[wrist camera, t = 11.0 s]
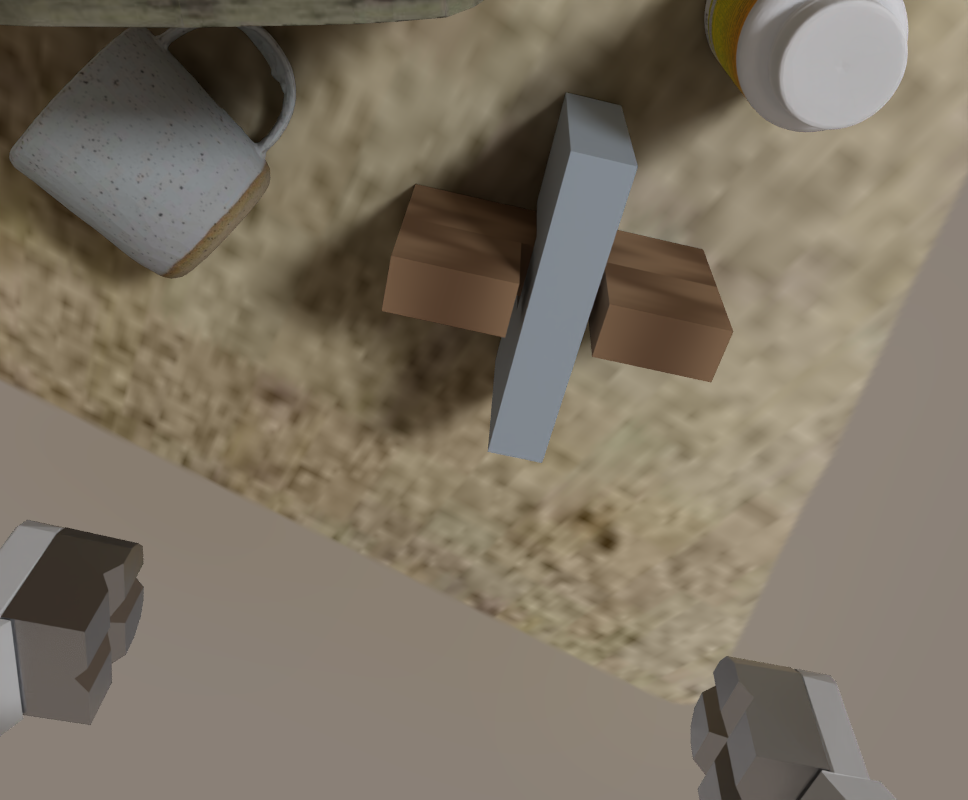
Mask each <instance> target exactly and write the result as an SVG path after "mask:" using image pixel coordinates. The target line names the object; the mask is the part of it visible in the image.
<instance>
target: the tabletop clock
mask: <svg viewBox="0 0 968 800" xmlns="http://www.w3.org/2000/svg"><path fill="white" fill-rule="evenodd" d="M482 1H483V0H0V25H15V26H53V27H163V28H193V27H241V26H289V25H332V24H362V23H381V22H397V21H409V20H420V19H432V18H443V17H448V16H451V15H454V14H456V13H459V12H462V11H464V10H467V9H470V8H472V7H474V6H476V5H477V4H479V3H480V2H482Z"/></svg>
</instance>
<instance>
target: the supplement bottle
mask: <svg viewBox="0 0 968 800" xmlns="http://www.w3.org/2000/svg"><path fill="white" fill-rule="evenodd" d="M705 32H706V37H707V40H708V43H709V46H710V48H711V50H712V52H713V54H714V56H715V57H716V59H717V60H718V61H719V63H720V64H721V66H722V67H723V68H724V70H725V71H726V72H727V74H728V75H729V76H730V78H731V79H732V81H733V82H734V83H735V85H736V86H737V87H738V89H739V90H740V91H741V93H742V94H743V95H744V97H745V98H746V99H747V101H748V102H749V103H750V105H751V106H752V107H753V108H754V109H755V110H756V111H757V112H758V113H759V114H760V115H761V116H762V117H763V118H765V119H766V120H767V121H769V122H771V123H772V124H774V125H776V126H779V127H781V128H784V129H787V130H792V131H798V132H816V131H823V130H828V129H829V130H832V129H841V128H846V127H850V126H853V125H855V124H857V123H860V122H862V121H864V120H866V119H867V118H869V117H871V116H872V115H873V114H875V113H876V112H877V111H879V110H880V109H881V108H882V107H883V106H884V105H885V104H886V103H887V102H888V101H889V99H890V98H891V97H892V95H893V94H894V92H895V91H896V89H897V88H898V86H899V84H900V82H901V80H902V77H903V75H904V71H905V68H906V64H907V56H908V47H907V40H908V19H907V13H906V9H905V5H904V2H903V0H707V2H706V7H705Z"/></svg>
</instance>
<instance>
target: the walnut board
mask: <svg viewBox="0 0 968 800" xmlns="http://www.w3.org/2000/svg"><path fill="white" fill-rule="evenodd" d="M536 237H537V212H536V211H532V210H527V209H523V208H519V207H514V206H510V205H506V204H501V203H497V202H492V201H488V200H484V199H479V198H475V197H470V196H466V195H462V194H457V193H453V192H449V191H444V190H440V189H435V188H431V187H427V186H422V185H418V184H415V187H414V190H413V193H412V196H411V199H410V202H409V205H408V208H407V210H406V213H405V216H404V219H403V222H402V225H401V228H400V231H399V234H398V237H397V240H396V243H395V246H394V249H393V252H392V255H391V259H390V265H389V271H388V277H387V283H386V288H385V294H384V300H383V306H382V311H384V312H389V313H394V314H398V315H403V316H407V317H412V318H417V319H421V320H426V321H430V322H435V323H440V324H444V325H449V326H453V327H458V328H463V329H467V330H472V331H477V332H481V333H486V334H490V335H495V336H500V337H504V338H505V336H506V332H507V329H508V325H509V321H510V317H511V314H512V310H513V306H514V302H515V299H516V295H517V296H521V293H522V289H523V285H524V281H525V278H526V274H527V270H528V267H529V263H530V259H531V255H532V252H533V248H534V244H535V241H536ZM589 328H590V338H591V349H592V357H596V358H601V359H606V360H610V361H615V362H620V363H624V364H629V365H633V366H638V367H643V368H647V369H652V370H656V371H661V372H666V373H670V374H675V375H679V376H684V377H689V378H693V379H698V380H703V381H707V382H712V380H713V377H714V375H715V373H716V370H717V368H718V366H719V363H720V361H721V359H722V356H723V354H724V352H725V350H726V347H727V345H728V343H729V340H730V338H731V336H732V333H733V330H732V327H731V324H730V321H729V319H728V316H727V313H726V311H725V308H724V305H723V302H722V300H721V297H720V294H719V292H718V289H717V286H716V283H715V281H714V278H713V275H712V273H711V270H710V267H709V264H708V262H707V259H706V256H705V254H704V251H703V249H698V248H694V247H690V246H685V245H681V244H676V243H672V242H668V241H663V240H659V239H654V238H650V237H646V236H641V235H637V234H633V233H628V232H624V231H619V230H617V232H616V236H615V239H614V242H613V245H612V248H611V251H610V254H609V257H608V260H607V263H606V267H605V270H604V273H603V276H602V279H601V282H600V285H599V288H598V291H597V294H596V297H595V301H594V304H593V307H592V310H591V313H590V316H589Z"/></svg>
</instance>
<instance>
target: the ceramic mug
mask: <svg viewBox="0 0 968 800" xmlns="http://www.w3.org/2000/svg"><path fill="white" fill-rule="evenodd" d="M196 28H199V27H193V28H169V29H168V30H167V31H165V32H164V33H162V34H161V35H159V36H154V35H153V34H152V33H151V32H150V31H149V30H148V29H147V28H145V27H130V28H128V29H127V30H125V31H124V32H122V33H121V34H120V35H119V36H117V37H116V38H114V39H113V40H112V41H111V42H110V43H109V44H108V45H107V46H106V47H105V48H104V49H102V50H101V51H100V52H99V53H98V54H97V55H96V56H95V57H94V58H93V59H91V60H90V62H89V63H88V64H87V65H86V66H84V67H83V68H82V69H81V70H80V71H79V72H78V73H77V74H76V76H75V77H74V78H73V79H72V80H71V81H70V82H69V83H68V84H67V85H66V86H64V88H63V89H62V90H61V91H60V92H59V93H58V94H57V95H56V96H55V97H54V98H53V99H52V100H51V101H50V102H49V104H48V105H47V106H46V107H45V108H44V109H43V111H42V112H41V113H40V114H39V115H38V116H37V117H36V118H35V120H34V121H33V123H32V124H30V126H29V127H28V129H27V130H26V131H25V132H24V134H23V135H22V136H21V137H20V138H19V140H18V141H17V142H16V143H15V145H14V146H13V147H12V149H11V151H10V156H9V158H10V161H11V163H12V164H13V166H14V167H15V168H16V169H17V170H19V171H20V172H21V173H23V174H24V175H26V176H27V177H28V178H30V179H31V180H32V181H34V182H35V183H36V184H37V185H39V186H40V187H41V188H42V189H44V190H45V191H46V192H47V193H49V194H50V195H51V196H53V197H54V198H55V199H56V200H58V201H59V202H60V203H61V204H63V205H64V206H65V207H66V208H68V209H69V210H70V211H71V212H73V213H74V214H75V215H77V216H78V217H79V218H81V219H82V220H83V221H85V222H86V223H87V224H89V225H90V226H91V227H93V228H94V229H95V230H97V231H98V232H99V233H100V234H102V235H103V236H104V237H105V238H107V239H108V240H109V241H110V242H112V243H113V244H114V245H115V246H117V247H118V248H119V249H120V250H122V251H123V252H124V253H125V254H127V255H128V256H129V257H130V258H132V259H133V260H135V261H136V262H138V263H139V264H141V265H143V266H144V267H146V268H148V269H150V270H151V271H153V272H155V273H157V274H159V275H161V276H163V277H167V278H177V277H182V276H184V275H186V274H188V273H189V272H190V271H192V270H193V269H194V268H195V267H196V266H197V265H198V264H200V263H201V262H202V261H203V260H204V259H206V258H207V257H208V256H209V255H210V254H211V253H212V252H213V251H214V250H215V249H216V248H217V247H218V246H219V245H220V244H221V243H222V241H223V240H224V239H225V238H226V237H227V236H228V235H229V234H230V233H231V232H232V231H233V230H234V229H235V228H236V227H237V225H238V224H239V223H240V222H241V221H242V220H243V219H244V218H245V217H246V216H247V214H248V213H249V212H250V211H251V209H252V208H253V207H254V206H255V205H256V203H257V202H258V201H259V199H260V198H261V197H262V195H263V194H264V193H265V191H266V190H267V188H268V185H269V182H270V168H269V166H268V164H267V162H266V160H265V156H266V152H267V150H268V149H269V148H270V147H271V146H273V145H274V144H275V142H276V141H277V140H278V139H279V138H280V137H281V135H282V133H283V132H284V130H285V129H286V127H287V125H288V123H289V121H290V119H291V117H292V114H293V111H294V107H295V101H296V84H295V78H294V74H293V70H292V67H291V65H290V63H289V61H288V59H287V57H286V56H285V54H284V52H283V51H282V49H281V47H280V46H279V45H278V43H277V42H276V41H275V40H274V38H273V37H272V36H271V35H270V33H268V32H267V31H266V30H265V29H264V28H263V27H262V26H241V27H237V28H239V29H241V30H242V31H243V32H245V33H246V34H247V36H248V37H249V38H250V39H251V41H252V42H253V43H254V44H255V45H256V47H257V48H258V49H259V50H260V52H261V53H262V54H263V56H264V57H265V59H266V60H267V62H268V64H269V65H270V67H271V73H272V76H273V77H274V78H275V79H276V80H277V81H279V82H280V85H281V88H282V90H283V92H284V100H283V107H282V111H281V113H280V115H279V117H278V119H277V122H276V123H275V125H274V126H273V128H272V129H271V130H270V132H269V134H268V135H267V136H266V137H264V138H263V139H262V140H261V141H260V142H259V143H254V142H253V141H252V140H251V139H250V138H249V137H248V136H247V135H246V134H245V133H244V131H243V130H242V128H241V127H239V126H238V125H237V124H236V123H235V122H234V121H233V120H232V118H231V117H230V116H229V115H228V114H227V113H226V111H225V110H224V109H222V108H220V107H219V106H218V105H217V104H216V103H215V102H214V100H213V99H212V98H211V97H210V96H209V95H208V94H207V92H206V91H205V90H204V89H203V88H202V87H201V86H200V84H199V83H198V82H197V81H196V80H195V78H194V77H193V76H192V75H191V74H190V73H189V72H187V70H186V69H185V68H184V67H183V66H182V65H181V64H180V63H179V61H177V59H176V58H175V57H174V56H173V55H172V54H171V53H170V52H169V51H168V46H169V45H170V43H171V42H173V41H174V40H176V39H177V38H179V37H180V36H182V35H184V34H186V33H187V32H190V31H192V30H194V29H196Z"/></svg>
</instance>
